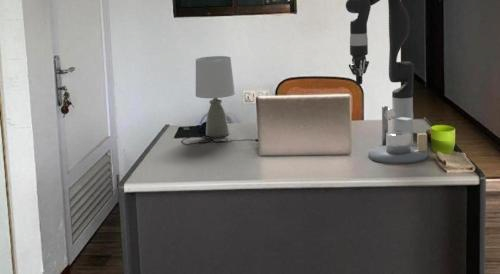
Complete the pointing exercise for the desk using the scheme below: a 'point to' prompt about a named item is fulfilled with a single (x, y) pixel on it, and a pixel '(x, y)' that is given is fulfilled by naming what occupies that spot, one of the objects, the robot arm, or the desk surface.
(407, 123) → the skincare box
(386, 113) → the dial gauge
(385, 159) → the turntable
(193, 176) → the desk surface
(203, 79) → the lamp
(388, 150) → the cover
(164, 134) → the desk surface
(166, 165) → the desk surface
